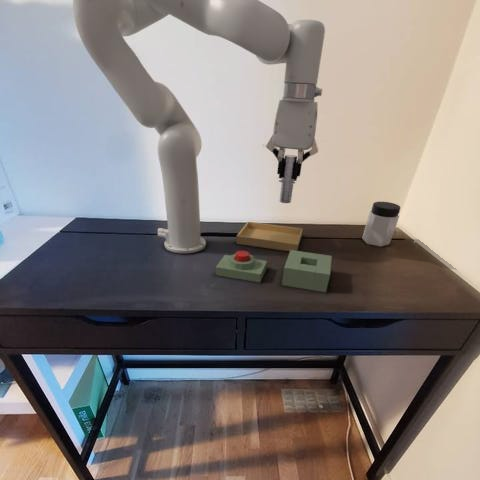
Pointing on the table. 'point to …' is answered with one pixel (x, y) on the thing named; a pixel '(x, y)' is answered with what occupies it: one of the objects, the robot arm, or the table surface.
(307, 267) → the green slotted base
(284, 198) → the grey peg
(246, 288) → the table surface
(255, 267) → the stop block
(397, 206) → the jar
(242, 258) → the stop button
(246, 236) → the tray
